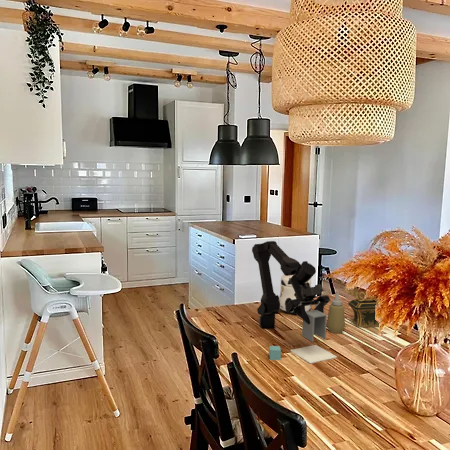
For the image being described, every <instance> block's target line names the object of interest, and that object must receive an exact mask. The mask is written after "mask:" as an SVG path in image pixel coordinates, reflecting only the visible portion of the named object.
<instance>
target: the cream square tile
mask: <svg viewBox="0 0 450 450" xmlns="http://www.w3.org/2000/svg"><path fill="white" fill-rule="evenodd" d="M290 353H293V354H294V355H296V356H297V357H299V358H300V359H302V360H304V362H307V364H315V363H316V364H317V363H321V362H325V361H328V360H333V359H338V356H337V355H335V354H333V353H331V352H330V351H328V350H327V349H324V348H322V347H321V346H319V345H317V344H314V345H308V346H303V347H299V348H294V349H293V348H292V349H290ZM320 361H321V362H320Z"/></svg>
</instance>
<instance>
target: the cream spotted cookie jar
mask: <svg viewBox="0 0 450 450" xmlns="http://www.w3.org/2000/svg"><path fill="white" fill-rule="evenodd" d="M292 276H293V275H290V276H285V275H284V274H282V275H281V277H280V293H279V295H278V296H279V302H280V308H279V310H281V311H282V312H285V313H287V311H286V309H285V306H286V305H287V303H288V302H289V301H290V300H293V299H298V298H297V296H296V297H295V296H294V294H295V291H294V289H293V287H292V285H291V284H289V285H288V281H289V278H291V277H292ZM306 284H307V286H310V287H312V278H311V279H310V280H309V281H308V282H306ZM312 306H313V305H308V306H305V311H312ZM288 314H295V313H293V312H288ZM295 315H296V314H295Z"/></svg>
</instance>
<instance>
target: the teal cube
mask: <svg viewBox="0 0 450 450" xmlns="http://www.w3.org/2000/svg"><path fill="white" fill-rule="evenodd" d="M268 348H269V351H268V356H269V360H270V361H281V359H282V358H281V356H282V355H281V354H282V350H281V346H280V345H269V347H268Z"/></svg>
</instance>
